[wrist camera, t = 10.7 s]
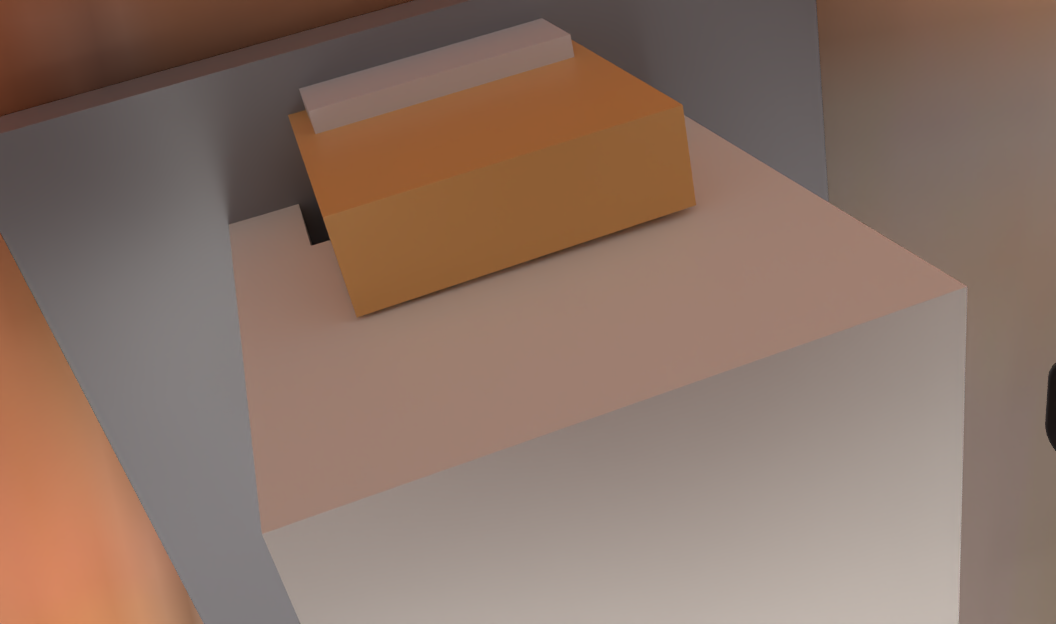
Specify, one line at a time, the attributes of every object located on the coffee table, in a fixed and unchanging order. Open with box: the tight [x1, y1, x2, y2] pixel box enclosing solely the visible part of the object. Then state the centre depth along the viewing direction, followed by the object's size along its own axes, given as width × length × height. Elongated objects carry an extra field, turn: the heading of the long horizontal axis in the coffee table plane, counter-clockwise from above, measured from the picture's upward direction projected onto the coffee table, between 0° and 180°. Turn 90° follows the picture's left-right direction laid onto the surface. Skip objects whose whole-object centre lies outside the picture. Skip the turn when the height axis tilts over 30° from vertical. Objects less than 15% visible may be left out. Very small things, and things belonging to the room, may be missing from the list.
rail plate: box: [0, 0, 829, 624], centre depth 17 cm, size 12×20×5 cm, turn 11°
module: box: [229, 115, 967, 624], centre depth 13 cm, size 6×4×7 cm
